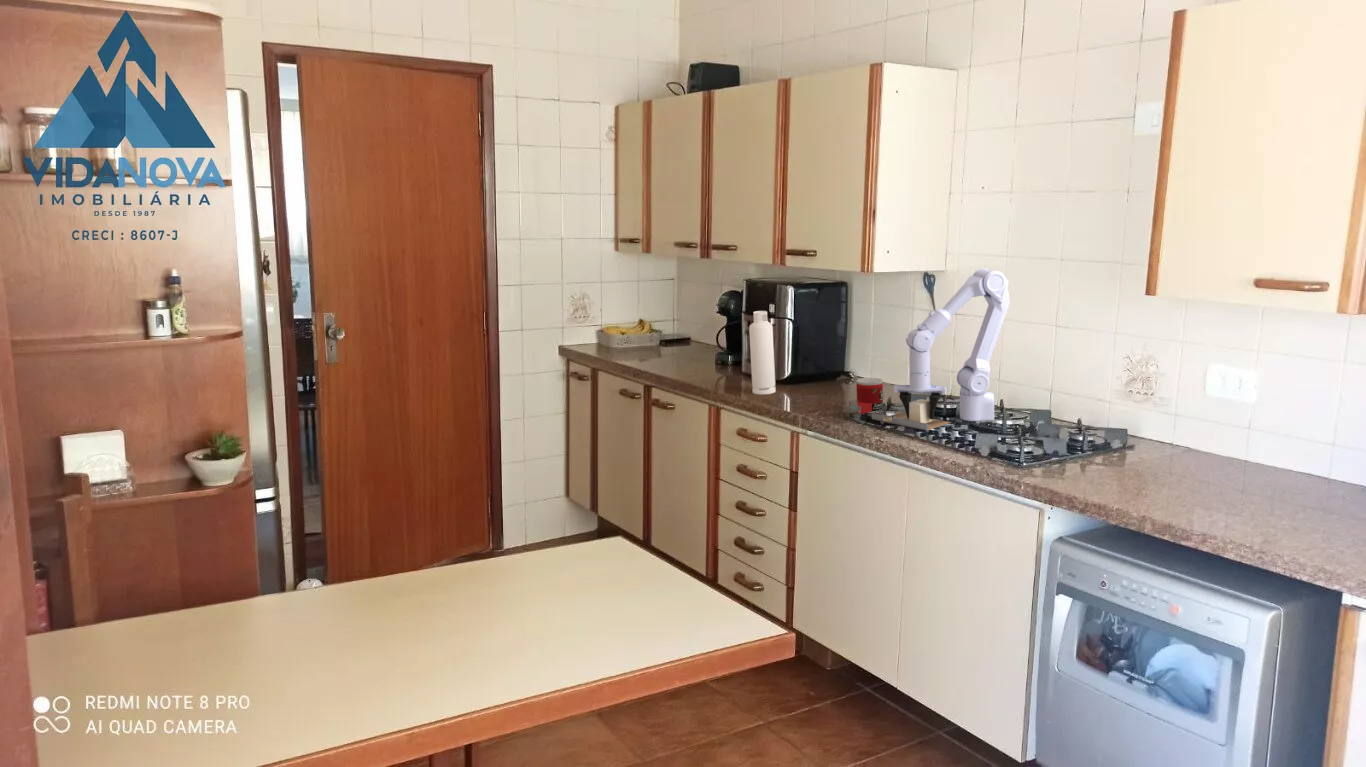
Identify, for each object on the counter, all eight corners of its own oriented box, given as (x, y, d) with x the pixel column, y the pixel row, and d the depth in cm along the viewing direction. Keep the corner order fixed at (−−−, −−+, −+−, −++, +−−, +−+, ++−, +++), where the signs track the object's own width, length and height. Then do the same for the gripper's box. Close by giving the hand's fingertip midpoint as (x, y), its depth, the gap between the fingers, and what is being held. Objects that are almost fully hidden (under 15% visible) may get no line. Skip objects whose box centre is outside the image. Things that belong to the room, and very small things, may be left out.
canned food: (876, 419, 282) (875, 384, 279) (852, 417, 287) (851, 381, 284) (887, 413, 288) (887, 378, 285) (864, 411, 292) (863, 376, 290)
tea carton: (920, 424, 268) (920, 404, 266) (908, 422, 271) (908, 402, 270) (931, 421, 270) (931, 401, 269) (919, 418, 274) (919, 398, 272)
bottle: (764, 395, 322) (760, 314, 316) (747, 392, 328) (743, 312, 322) (780, 390, 327) (777, 311, 321) (763, 388, 333) (759, 309, 327)
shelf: (951, 427, 268) (951, 416, 268) (926, 435, 262) (926, 424, 261) (896, 416, 284) (896, 405, 283) (871, 424, 278) (871, 413, 277)
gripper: (948, 369, 268) (948, 415, 271) (897, 368, 274) (898, 413, 277) (944, 374, 262) (944, 421, 265) (891, 373, 268) (892, 419, 271)
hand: (920, 417), depth 270 cm, fingers closed on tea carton, 6 cm apart
